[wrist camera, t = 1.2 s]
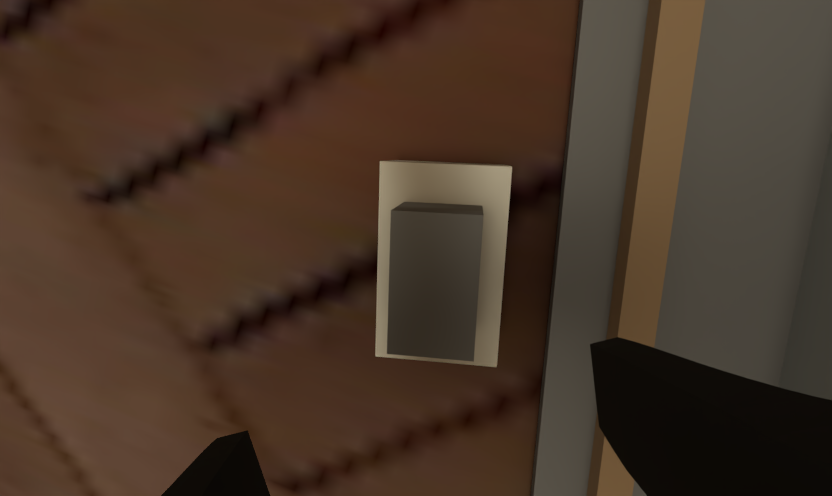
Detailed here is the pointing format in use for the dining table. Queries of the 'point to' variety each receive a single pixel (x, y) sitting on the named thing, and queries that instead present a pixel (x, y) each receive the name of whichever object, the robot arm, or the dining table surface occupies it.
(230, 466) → the robot arm
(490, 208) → the cabinet block
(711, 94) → the wall board
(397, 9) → the dining table surface
